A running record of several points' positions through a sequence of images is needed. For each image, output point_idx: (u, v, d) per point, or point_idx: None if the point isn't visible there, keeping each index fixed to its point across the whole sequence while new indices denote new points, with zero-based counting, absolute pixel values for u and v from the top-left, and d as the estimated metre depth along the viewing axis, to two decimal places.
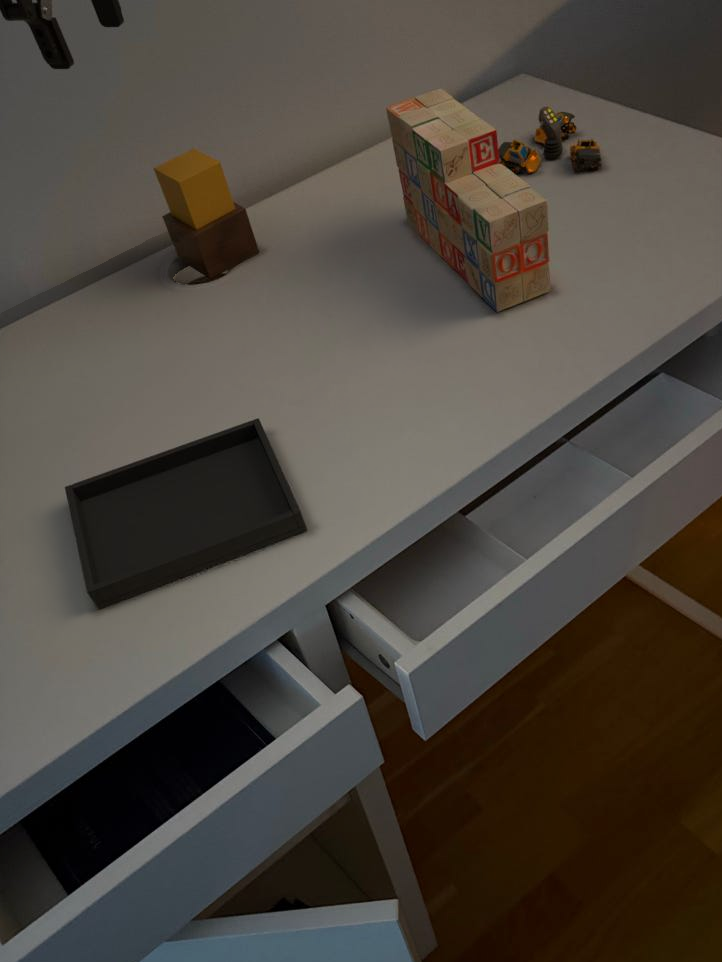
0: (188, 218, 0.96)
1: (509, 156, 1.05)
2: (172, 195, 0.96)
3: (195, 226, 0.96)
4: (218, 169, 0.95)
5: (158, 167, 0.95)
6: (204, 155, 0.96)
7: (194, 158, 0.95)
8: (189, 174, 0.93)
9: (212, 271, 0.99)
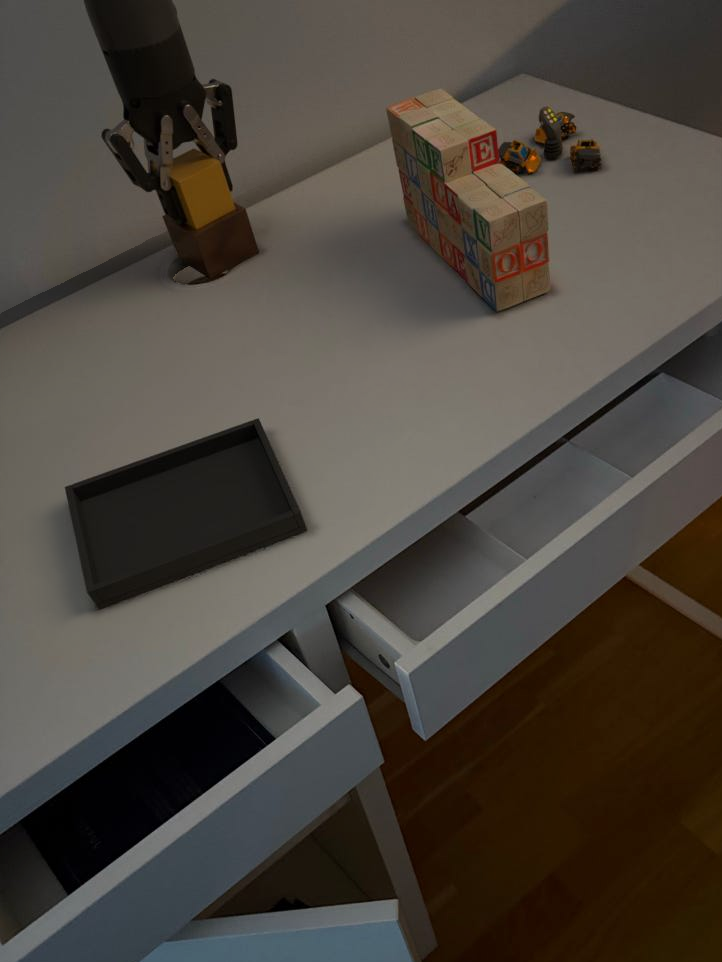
0: (188, 218, 0.96)
1: (509, 156, 1.05)
2: None
3: (195, 226, 0.96)
4: (218, 169, 0.95)
5: None
6: (204, 155, 0.96)
7: (194, 158, 0.95)
8: (189, 174, 0.93)
9: (212, 271, 0.99)
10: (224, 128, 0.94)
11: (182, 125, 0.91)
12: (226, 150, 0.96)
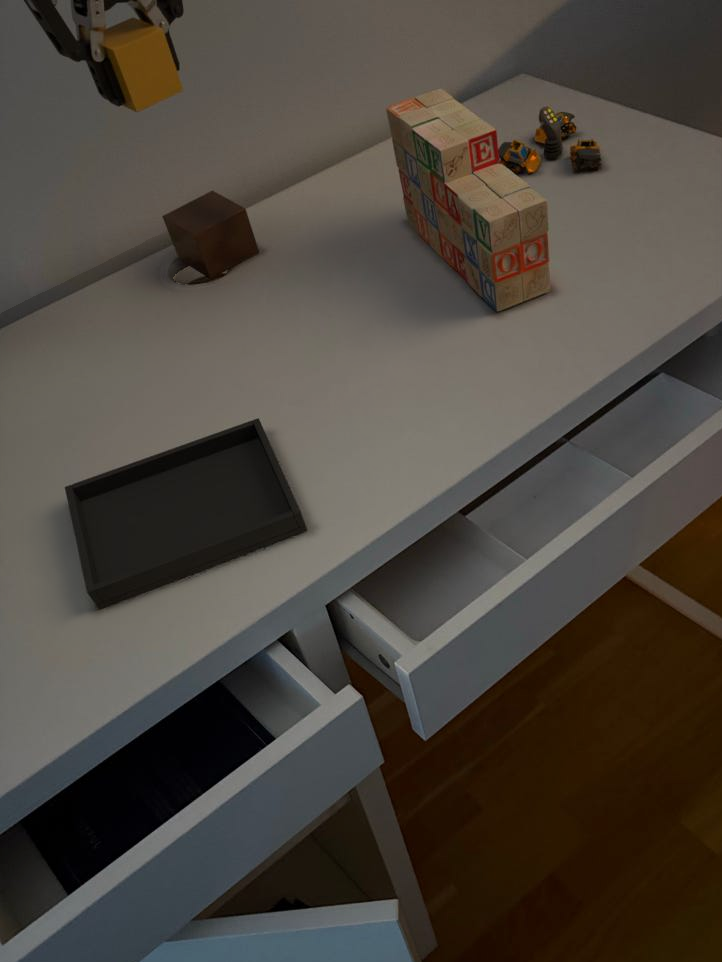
0: (127, 98, 0.82)
1: (509, 156, 1.05)
2: None
3: (135, 108, 0.82)
4: (161, 38, 0.80)
5: None
6: (144, 23, 0.81)
7: (132, 26, 0.81)
8: (125, 42, 0.79)
9: (212, 271, 0.99)
10: None
11: None
12: (170, 18, 0.82)
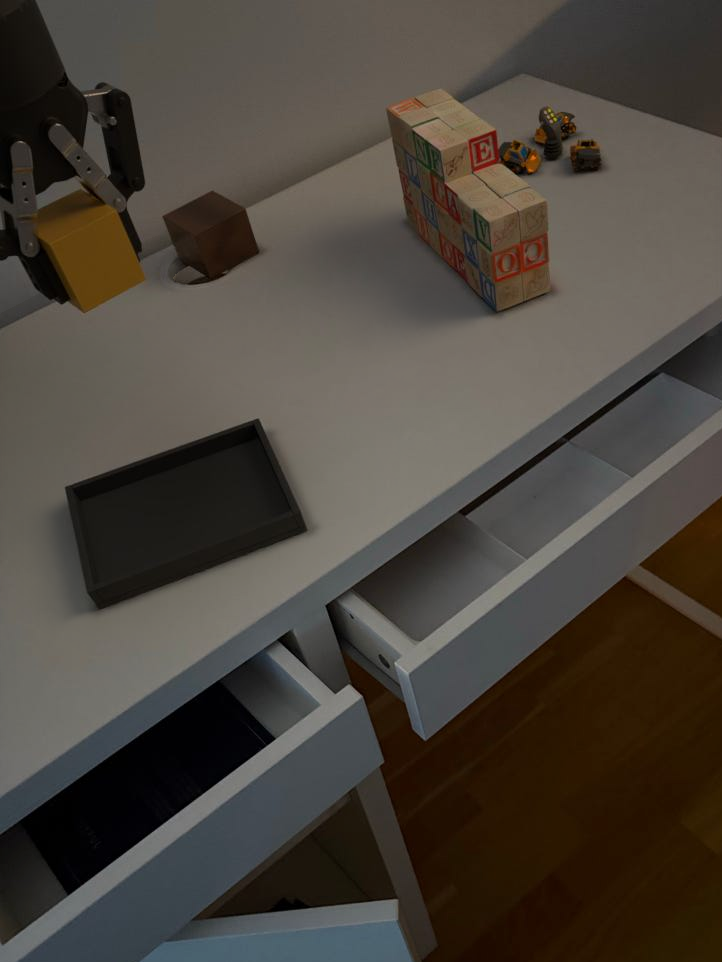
0: (71, 296, 0.63)
1: (509, 156, 1.05)
2: None
3: (82, 308, 0.63)
4: (115, 222, 0.61)
5: None
6: (94, 200, 0.62)
7: (78, 204, 0.62)
8: (66, 231, 0.60)
9: (212, 271, 0.99)
10: (122, 158, 0.61)
11: (50, 156, 0.58)
12: (128, 192, 0.62)
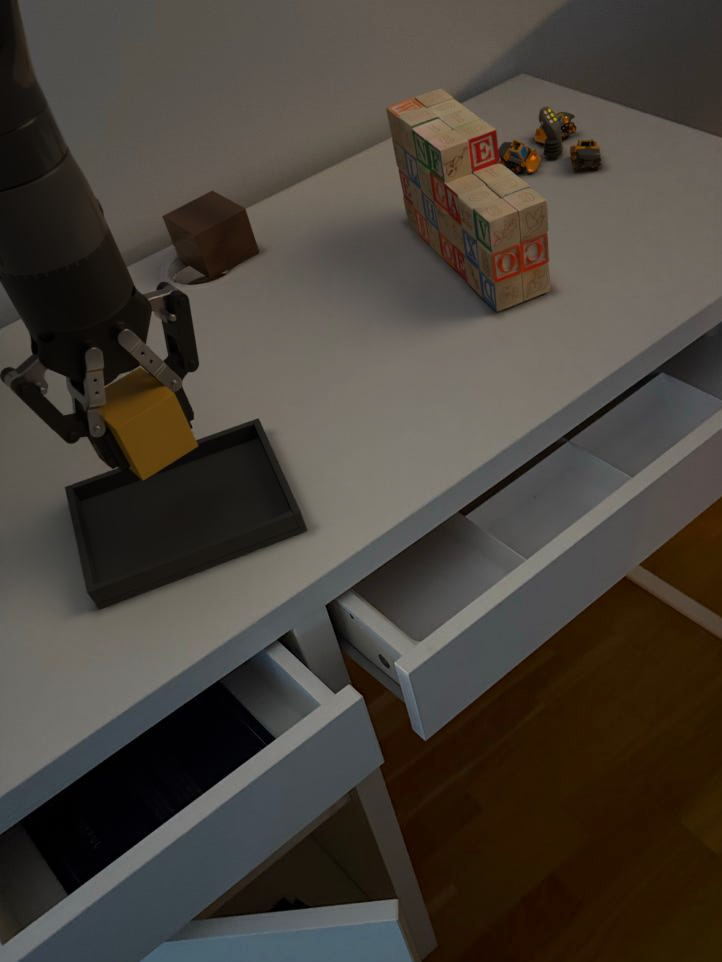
0: (132, 466, 0.69)
1: (509, 156, 1.05)
2: None
3: (141, 477, 0.69)
4: (173, 403, 0.68)
5: None
6: (153, 381, 0.69)
7: (139, 385, 0.69)
8: (130, 415, 0.66)
9: (212, 271, 0.99)
10: (180, 347, 0.68)
11: (118, 353, 0.64)
12: (183, 372, 0.69)
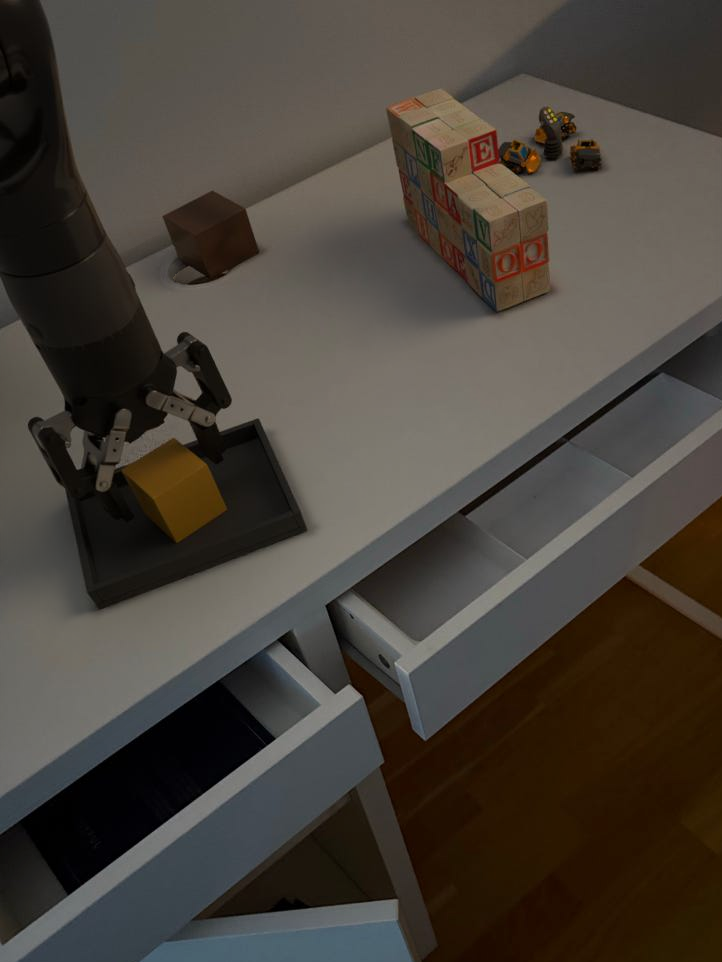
0: (166, 530, 0.75)
1: (509, 156, 1.05)
2: (145, 502, 0.74)
3: (175, 540, 0.75)
4: (205, 473, 0.73)
5: (127, 469, 0.74)
6: (186, 451, 0.74)
7: (173, 455, 0.74)
8: (166, 485, 0.72)
9: (212, 271, 0.99)
10: (210, 390, 0.71)
11: (145, 412, 0.69)
12: (217, 408, 0.73)
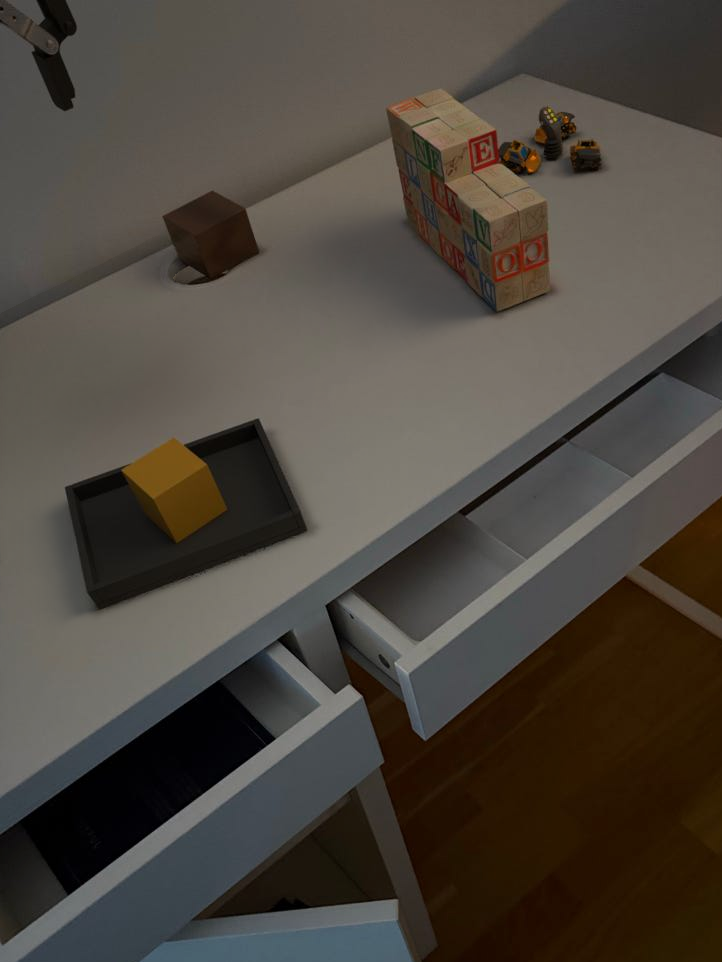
0: (166, 530, 0.75)
1: (509, 156, 1.05)
2: (145, 502, 0.74)
3: (175, 540, 0.75)
4: (205, 473, 0.73)
5: (127, 469, 0.74)
6: (186, 451, 0.74)
7: (173, 455, 0.74)
8: (166, 485, 0.72)
9: (212, 271, 0.99)
10: (49, 6, 0.66)
11: None
12: (61, 36, 0.68)
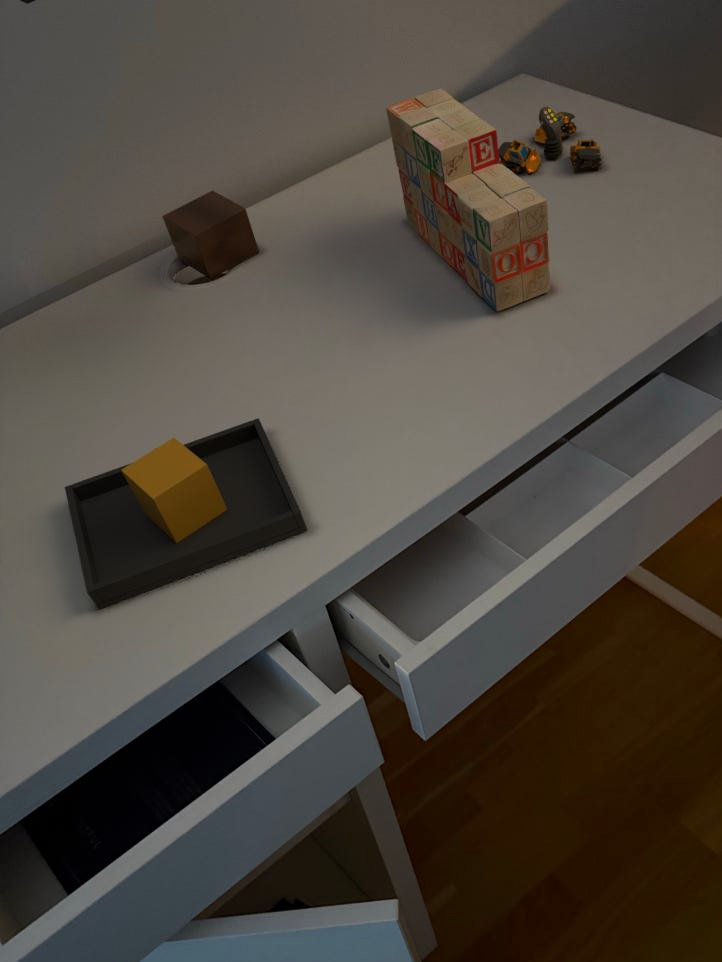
0: (166, 530, 0.75)
1: (509, 156, 1.05)
2: (145, 502, 0.74)
3: (175, 540, 0.75)
4: (205, 473, 0.73)
5: (127, 469, 0.74)
6: (186, 451, 0.74)
7: (173, 455, 0.74)
8: (166, 485, 0.72)
9: (212, 271, 0.99)
10: None
11: None
12: None
